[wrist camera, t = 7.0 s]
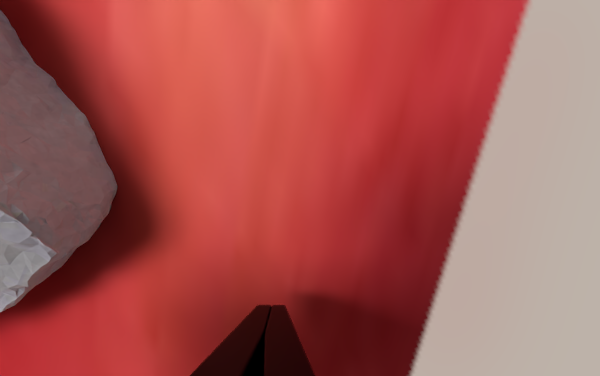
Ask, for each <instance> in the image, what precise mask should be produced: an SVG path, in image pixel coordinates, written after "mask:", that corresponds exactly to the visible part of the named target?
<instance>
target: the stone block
mask: <svg viewBox="0 0 600 376" xmlns="http://www.w3.org/2000/svg"><path fill="white" fill-rule="evenodd" d="M116 192H117V183H116V181H115V178H114V175H113V172H112V170H111V169H110V167H109V166H108V164H107V163H106V160H105V158H104V155H103V153H102V151H101V148H100V146H99V144H98V141H97V138H96V135H95V133H94V131H93V130H92V128H91V126H90V124H89V122H88V120H87V117H86V116H85V114H84V113H82V112H81V111H80V110H79V109H78V108H77V107H76V106H75V104H74V103H73V102H72V101H71V100H70V99H69V98H68V97H67V96H66V95H65V94H64V93H63V91H62V90H61V89H60V88H59V87H58V86H57V84H56V81H55V80H54V78H53V77H52V76H50V75H49V74H48V73H46V72H45V71H44V70H43V69H41V68H40V67H39V66H38V65H36V64H35V62H34V61H33V59H32V58H31V56H30V54H29V53H28V51H27V50H26V49H25V47H24V46H23V45H22V44H21V41H20V39H19V37H18V35H17V33H16V31H15V30H14V28H13V27H12V26H11V24H10V22H9V20H8V18H7V17H6V16H5V14H4V13H3V12H2V11H1V10H0V312H2V311H4V310H6V309H8V308H10V307H12V306H14V305H16V304H17V303H18V302H19V301H20V300H21V299H22V298H23V297H24V296H25V295H26V294H27V293H28V292H29V291H30V290H31V289H33V288H34V287H35V286H36V285H38V284H40V283H41V282H43V281H44V280H45V279H46V278H48V277H49V276H50V275H51V274H52V273H53V272H55V271H56V270H58V269H59V268H61V267H62V266H63V265H64V264H65V262H66V261H67V260H68V259H69V257H70V256H71V255H72V254H73V252H74V251H75V250H76V249H77V248H78V247H79V246H81V245H82V244H84V243H85V242H87V241H88V240H89V239H90V238H91V237H92V235H93V234H94V233H95V231H96V230H97V229H98V228H99V227H100V224H101V222H102V221H103V219H104V218H105V217H106V216H107V215H108V214H109V211H110V209H111V202H112V200H113V199H114V197H115V195H116Z"/></svg>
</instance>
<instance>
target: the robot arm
mask: <svg viewBox="0 0 600 376" xmlns="http://www.w3.org/2000/svg"><path fill="white" fill-rule="evenodd" d="M190 376H315V375H314V373H313V370H312V368H311V365H310V363H309V361H308V358H307V356H306V354H305V351H304V349H303V347H302V344H301V342H300V339H299V337H298V335H297V332H296V330H295V328H294V325H293V323H292V321H291V318H290V316H289V313H288V311H287V309H286V307H285V306H284V305H273V306H272V307H271V305H258V306H256V307H255V309H254V310H253V311H252V312H251V313H250V314H249V315H248V316H247V317H246V318H245V319H244V320H243V321H242V322H241V323H240V324H239V325H238V326H237V327H236V328H235V329H234V330H233V331H232V332H231V333H230V334H229V335H228V337H227V338H226V339H225V340H224V341H223V342H222V343H221V344H220V345H219V346H218V347H217V348H216V349H215V350H214V351H213V352H212V353H211V354H210V355H209V356H208V357H207V358H206V359H205V360H204V361H203V362H202V363H201V365H200V366H199V367H198V368H197V369H196V370H195V371H194V372H193V373H192V374H191V375H190Z"/></svg>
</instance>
